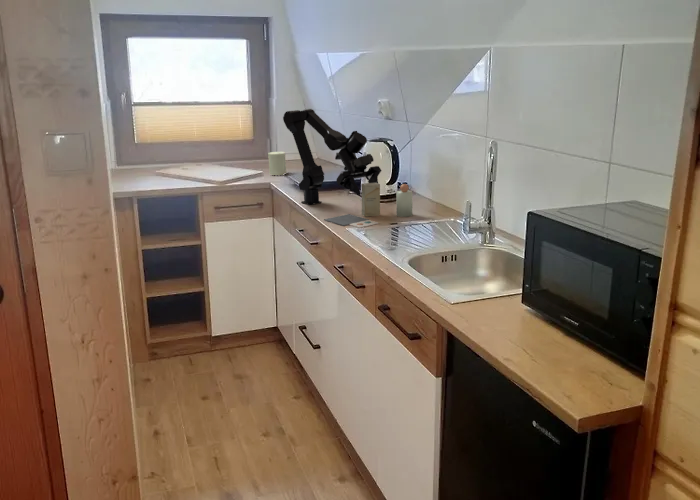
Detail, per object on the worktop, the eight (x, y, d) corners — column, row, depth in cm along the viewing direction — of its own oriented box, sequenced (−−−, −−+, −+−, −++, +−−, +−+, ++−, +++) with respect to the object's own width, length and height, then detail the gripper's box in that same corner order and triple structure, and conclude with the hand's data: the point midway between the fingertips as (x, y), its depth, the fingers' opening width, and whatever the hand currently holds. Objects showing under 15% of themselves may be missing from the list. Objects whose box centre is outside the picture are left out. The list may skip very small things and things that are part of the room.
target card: (349, 224, 226) (349, 223, 226) (368, 220, 231) (368, 219, 231) (359, 227, 221) (359, 226, 221) (378, 223, 226) (378, 222, 226)
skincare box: (365, 217, 236) (364, 185, 233) (361, 214, 240) (360, 183, 237) (380, 215, 238) (380, 184, 235) (376, 213, 242) (376, 182, 239)
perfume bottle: (393, 215, 238) (393, 183, 235) (404, 212, 242) (404, 181, 238) (404, 217, 234) (404, 186, 230) (415, 215, 237) (415, 183, 234)
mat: (323, 220, 233) (323, 219, 233) (349, 215, 240) (349, 214, 240) (343, 226, 224) (343, 225, 224) (369, 220, 231) (369, 219, 231)
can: (276, 176, 326) (274, 153, 323) (265, 174, 333) (264, 152, 330) (290, 174, 332) (288, 151, 329) (279, 172, 339) (278, 150, 335)
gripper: (339, 150, 231) (359, 183, 226) (377, 145, 242) (397, 176, 237) (328, 169, 240) (346, 201, 234) (365, 163, 251) (384, 194, 245)
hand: (369, 192), depth 238 cm, fingers open, 9 cm apart
